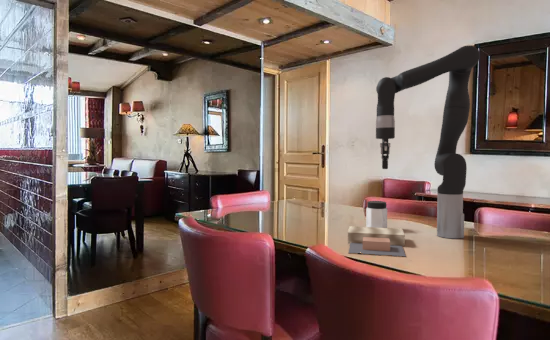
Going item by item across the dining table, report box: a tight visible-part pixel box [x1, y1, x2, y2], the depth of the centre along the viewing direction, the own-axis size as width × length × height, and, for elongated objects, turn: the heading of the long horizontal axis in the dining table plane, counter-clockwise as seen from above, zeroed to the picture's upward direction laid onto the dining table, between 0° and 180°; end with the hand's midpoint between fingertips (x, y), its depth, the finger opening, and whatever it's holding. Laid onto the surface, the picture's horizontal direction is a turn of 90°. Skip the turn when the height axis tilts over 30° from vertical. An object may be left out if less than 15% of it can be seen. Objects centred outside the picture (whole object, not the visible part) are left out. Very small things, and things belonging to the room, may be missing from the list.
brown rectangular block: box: [363, 237, 390, 251], centre depth 125 cm, size 9×6×3 cm, turn 75°
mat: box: [348, 243, 407, 258], centre depth 124 cm, size 18×14×1 cm
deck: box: [347, 225, 406, 247], centre depth 136 cm, size 20×12×4 cm, turn 75°
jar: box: [365, 200, 388, 228], centre depth 159 cm, size 9×8×12 cm
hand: (384, 168), depth 149 cm, fingers closed
